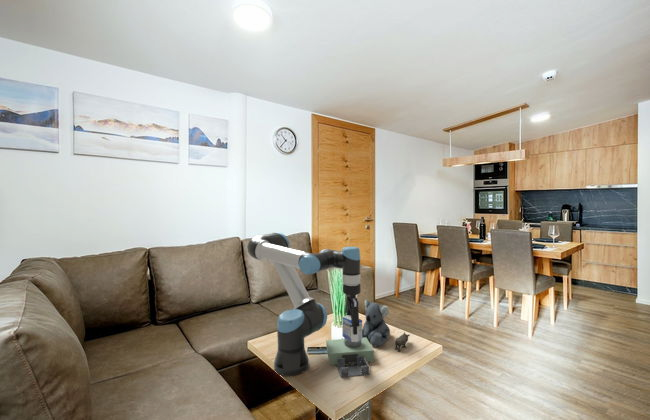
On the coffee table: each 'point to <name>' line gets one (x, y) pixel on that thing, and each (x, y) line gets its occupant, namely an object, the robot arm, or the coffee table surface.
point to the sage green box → (349, 350)
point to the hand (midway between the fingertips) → (352, 336)
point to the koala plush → (375, 324)
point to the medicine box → (347, 329)
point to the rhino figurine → (401, 341)
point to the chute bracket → (353, 367)
